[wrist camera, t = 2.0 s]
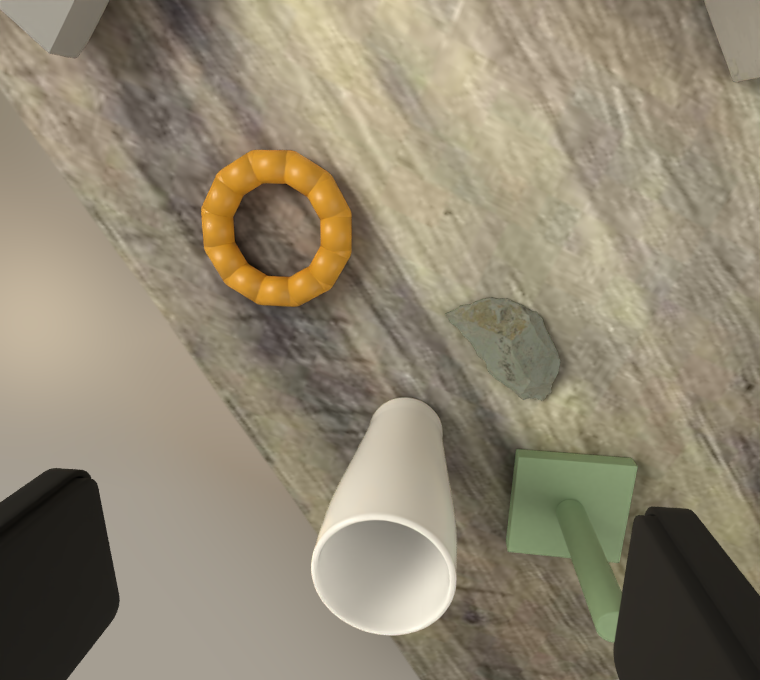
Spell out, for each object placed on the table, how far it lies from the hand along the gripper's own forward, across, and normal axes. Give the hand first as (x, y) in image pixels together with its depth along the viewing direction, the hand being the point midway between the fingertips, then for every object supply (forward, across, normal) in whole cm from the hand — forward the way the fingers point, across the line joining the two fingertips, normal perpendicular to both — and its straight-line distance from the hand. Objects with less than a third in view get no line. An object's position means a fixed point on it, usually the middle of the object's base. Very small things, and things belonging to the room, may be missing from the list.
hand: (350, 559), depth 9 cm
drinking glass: (+26, +1, +10) cm, 28 cm away
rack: (+26, -11, +16) cm, 32 cm away
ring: (+25, +10, -4) cm, 27 cm away
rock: (+26, -6, +4) cm, 27 cm away
